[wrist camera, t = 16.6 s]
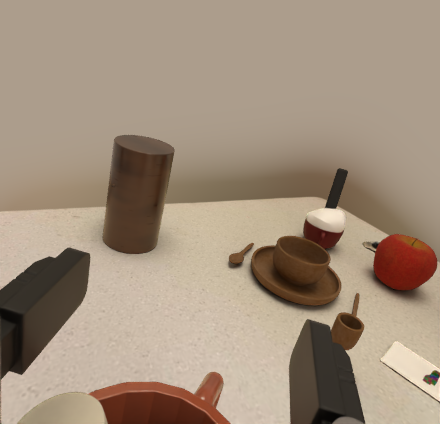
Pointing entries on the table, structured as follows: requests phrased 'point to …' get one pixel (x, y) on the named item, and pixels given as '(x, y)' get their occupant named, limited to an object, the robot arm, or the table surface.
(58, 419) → the glue stick
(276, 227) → the table surface
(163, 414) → the mug
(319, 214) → the cocoa
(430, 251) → the apple
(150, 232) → the brown cylinder
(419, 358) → the flat white panel
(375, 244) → the geode slice
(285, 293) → the place setting
